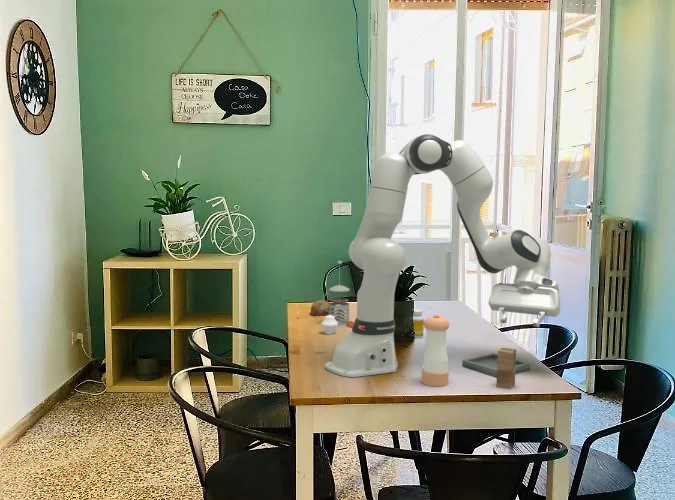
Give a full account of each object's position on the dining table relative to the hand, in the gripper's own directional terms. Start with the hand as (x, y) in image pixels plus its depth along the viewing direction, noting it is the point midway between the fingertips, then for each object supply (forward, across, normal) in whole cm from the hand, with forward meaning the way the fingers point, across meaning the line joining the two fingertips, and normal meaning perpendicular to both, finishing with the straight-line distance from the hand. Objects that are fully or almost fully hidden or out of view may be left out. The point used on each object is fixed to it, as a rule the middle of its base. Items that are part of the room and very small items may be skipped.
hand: (519, 323), depth 188 cm
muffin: (0, -72, +22) cm, 75 cm away
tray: (+8, -7, +13) cm, 17 cm away
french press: (-11, -77, +32) cm, 84 cm away
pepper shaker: (+24, -18, -3) cm, 30 cm away
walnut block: (+19, 0, +2) cm, 19 cm away
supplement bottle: (-9, -43, +30) cm, 53 cm away
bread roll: (-20, -92, +42) cm, 103 cm away
